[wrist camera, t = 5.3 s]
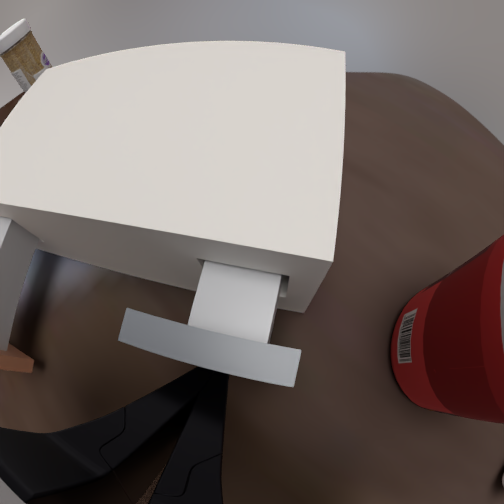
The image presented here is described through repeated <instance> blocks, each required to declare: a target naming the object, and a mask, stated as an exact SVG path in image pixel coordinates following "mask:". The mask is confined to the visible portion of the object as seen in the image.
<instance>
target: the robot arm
mask: <svg viewBox="0 0 504 504" xmlns="http://www.w3.org/2000/svg"><path fill="white" fill-rule="evenodd" d="M228 380H229V374H227V373H223V372H219V371H215V370H211V369H207V368H203V367H200V366H198V367H196V368H195V369H193V370H191V371H189V372H188V373H186V374H184V375H182V376H181V377H179V378H177V379H175V380H173V381H172V382H170V383H168V384H166V385H164V386H163V387H161V388H159V389H157V390H155V391H153V392H151V393H150V394H148V395H146V396H144V397H142V398H140V399H138V400H136V401H134V402H132V403H130V404H128V405H127V406H125V407H122V408H120V409H118V410H116V411H114V412H112V413H110V414H108V415H106V416H103V417H101V418H98V419H95V420H93V421H90V422H87V423H84V424H81V425H77V426H74V427H71V428H68V429H64V430H61V431H57V432H52V433H33V432H26V431H19V430H13V429H7V428H1V427H0V504H136V503H137V502H138V500H139V499H140V498H141V496H142V495H143V494H144V492H145V491H146V490H147V489H148V487H149V486H150V485H151V483H152V482H153V481H154V479H155V478H156V477H157V475H158V474H159V472H160V471H161V470H162V468H163V467H164V466H165V464H166V463H167V464H166V466H165V468H164V471H163V473H162V475H161V477H160V479H159V481H158V484H157V486H156V488H155V490H154V492H153V495H152V496H151V499H150V500H149V502H148V504H223V496H222V482H221V474H222V453H223V441H224V428H225V416H226V404H227V391H228Z"/></svg>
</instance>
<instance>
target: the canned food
mask: <svg viewBox="0 0 504 504" xmlns="http://www.w3.org/2000/svg"><path fill="white" fill-rule="evenodd" d="M391 362H392V368H393V372H394V375H395V378H396V380H397V382H398V384H399V385H400V387H401V389H402V390H403V392H404V393H405V394H406V395H407V396H408V398H409V399H410V400H411V401H413V402H414V403H415V404H417V405H418V406H420V407H422V408H425V409H428V410H431V411H436V412H440V413H445V414H450V415H455V416H460V417H465V418H471V419H476V420H482V421H488V422H495V423H502V424H504V235H503V236H501V237H500V238H499V239H497V240H496V241H495V242H493V243H492V244H491V245H489V246H488V247H486V248H485V249H484V250H482V251H481V252H480V253H478V254H477V255H475V256H474V257H472V258H471V259H470V260H468V261H467V262H465V263H464V264H462V265H461V266H459V267H458V268H456V269H455V270H453V271H452V272H450V273H449V274H447V275H446V276H444V277H442V278H441V279H439V280H438V281H436V282H435V283H433V284H431V285H430V286H428V287H426V288H425V289H423V290H422V291H420V292H419V293H417V294H416V295H415V296H414V297H413V298H411V300H410V301H409V302H408V303H407V305H406V306H405V307H404V309H403V311H402V313H401V315H400V316H399V318H398V320H397V322H396V325H395V328H394V331H393V335H392V341H391Z"/></svg>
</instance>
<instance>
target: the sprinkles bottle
mask: <svg viewBox="0 0 504 504" xmlns="http://www.w3.org/2000/svg"><path fill="white" fill-rule="evenodd" d="M30 29H31V27H30V25H29V23H28V22H27V20H26V19H22V20H20V21H18V22H17V23H15V24H14V25H12V26H11V27H10V28H8V29H7V30H6V31H5V32H3V33H2V34H1V35H0V56H1V57H2V58H3V60H4V62H5V63H6V65H7V66H8V68H9V69H10V71H11V73H12V75H13V76H14V77H15V79H16V80H17V82H18V83H19V85H20V86H21V88H22V89H23V91H24V92H25V93H26V92H27V91H28V90H29V89H30V87H31V86H32V85H33V84H34V83H35V81H36V80H37V79H38V78H39V77H40V76H41V75H42V73H43V72H44V71H45V70H46V69H49V68H52V66H51V64H50V62H49V61H48V59H47V57H46V56H45V54H44V53H43V51H42V50H41V48H40V46H39V45H38V43H37V41H36V40H35V38H34V36H33V34H32V31H30Z"/></svg>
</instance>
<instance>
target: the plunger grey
mask: <svg viewBox="0 0 504 504" xmlns="http://www.w3.org/2000/svg"><path fill="white" fill-rule="evenodd" d="M283 276H284V275H282V274H277V273H271V272H266V271H261V270H255V269H250V268H245V267H240V266H234V265H229V264H224V263H219V262H214V261H209V260H205V262H204V266H203V269H202V273H201V277H200V280H199V284H198V287H197V291H196V295H195V299H194V302H193V306H192V310H191V314H190V317H189V321H188V325H185V324H182V323H178V322H174V321H170V320H167V319H163V318H160V317H156V316H153V315H149V314H146V313H142V312H139V311H136V310H133V309H129V308H127V309H126V312H125V316H124V320H123V323H122V327H121V331H120V334H119V338H118V341H121V342H124V343H127V344H129V345H132V346H135V347H138V348H141V349H144V350H147V351H150V352H153V353H156V354H159V355H162V356H165V357H169V358H172V359H175V360H179V361H182V362H185V363H189V364H192V365H196V366H200V367H203V368H207V369H211V370H215V371H219V372H223V373H227V374H231V375H235V376H239V377H244V378H248V379H253V380H258V381H262V382H267V383H272V384H278V385H283V386H289V387H294V382H295V378H296V373H297V369H298V364H299V359H300V355H301V350H299V349H293V348H288V347H283V346H277V345H272V344H269V343H270V339H271V334H272V330H273V325H274V320H275V315H276V311H277V306H278V301H279V296H280V291H281V286H282V281H283Z"/></svg>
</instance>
